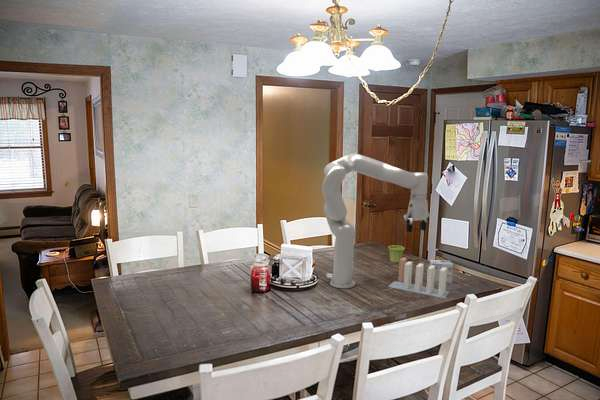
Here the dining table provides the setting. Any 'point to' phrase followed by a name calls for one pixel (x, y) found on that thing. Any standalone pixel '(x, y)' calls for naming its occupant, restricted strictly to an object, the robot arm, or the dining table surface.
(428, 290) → the domino
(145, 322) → the dining table surface
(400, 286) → the board
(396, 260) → the plant pot
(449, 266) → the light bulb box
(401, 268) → the domino
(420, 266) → the domino
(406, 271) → the domino
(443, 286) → the domino
